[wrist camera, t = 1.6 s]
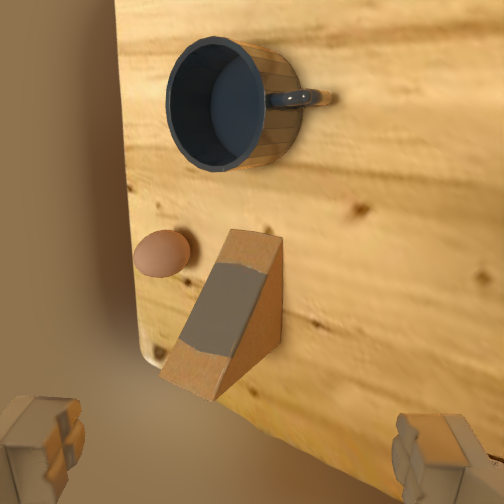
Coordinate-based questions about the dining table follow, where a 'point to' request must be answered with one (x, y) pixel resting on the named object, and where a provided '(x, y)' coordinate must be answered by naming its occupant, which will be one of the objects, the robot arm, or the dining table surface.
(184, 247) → the egg
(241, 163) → the coffee mug
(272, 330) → the sandwich container
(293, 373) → the dining table surface
